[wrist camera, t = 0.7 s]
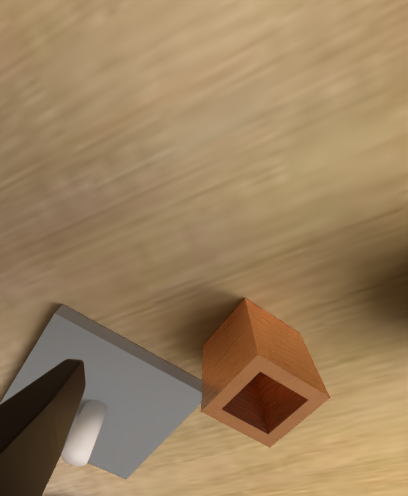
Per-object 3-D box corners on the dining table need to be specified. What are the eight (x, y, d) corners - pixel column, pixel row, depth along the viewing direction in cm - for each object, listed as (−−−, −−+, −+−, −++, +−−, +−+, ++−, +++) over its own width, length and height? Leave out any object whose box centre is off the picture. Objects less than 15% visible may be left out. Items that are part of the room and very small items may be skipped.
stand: (207, 384, 25) (207, 444, 20) (129, 466, 29) (113, 532, 24) (62, 304, 22) (20, 351, 17) (-1, 408, 26) (-49, 469, 21)
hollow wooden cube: (299, 333, 22) (330, 397, 17) (255, 376, 24) (269, 447, 19) (245, 298, 21) (258, 354, 16) (203, 345, 23) (201, 411, 17)
